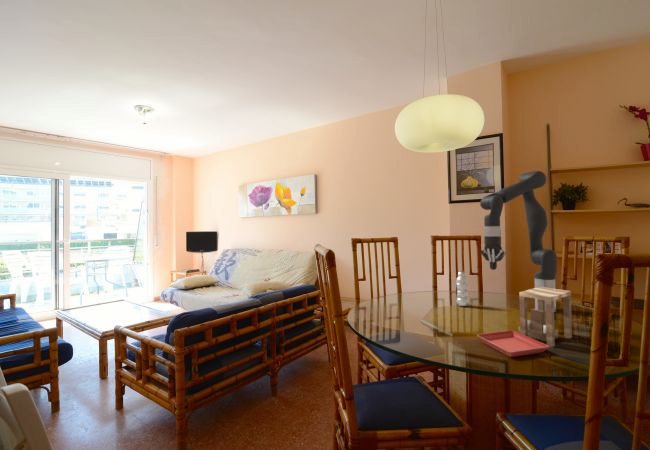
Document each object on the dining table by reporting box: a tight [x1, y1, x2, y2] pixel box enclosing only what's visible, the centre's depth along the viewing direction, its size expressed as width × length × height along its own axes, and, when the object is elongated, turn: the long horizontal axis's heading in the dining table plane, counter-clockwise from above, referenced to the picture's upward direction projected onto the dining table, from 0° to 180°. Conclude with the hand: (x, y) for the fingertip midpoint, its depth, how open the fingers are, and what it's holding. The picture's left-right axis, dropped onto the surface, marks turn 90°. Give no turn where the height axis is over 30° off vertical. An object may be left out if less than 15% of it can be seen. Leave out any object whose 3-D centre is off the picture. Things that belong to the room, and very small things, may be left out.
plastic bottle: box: [455, 270, 470, 307], centre depth 187 cm, size 6×7×20 cm
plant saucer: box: [476, 330, 550, 358], centre depth 127 cm, size 18×18×3 cm
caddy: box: [517, 308, 559, 342], centre depth 137 cm, size 8×12×11 cm, turn 31°
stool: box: [518, 287, 573, 348], centre depth 135 cm, size 17×12×20 cm
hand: (493, 269), depth 162 cm, fingers closed
